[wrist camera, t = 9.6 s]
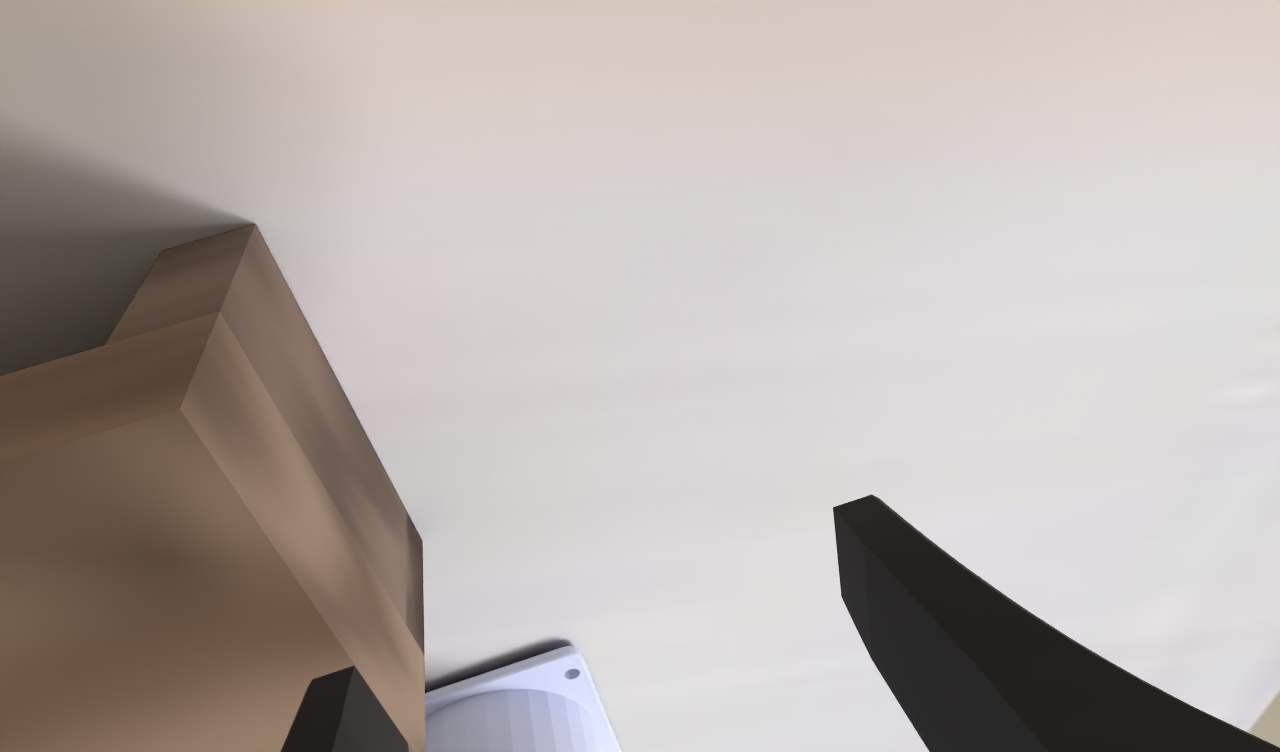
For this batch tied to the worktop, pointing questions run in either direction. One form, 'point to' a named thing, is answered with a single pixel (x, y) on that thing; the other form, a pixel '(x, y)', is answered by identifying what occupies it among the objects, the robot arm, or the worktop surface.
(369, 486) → the cabinet
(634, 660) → the worktop surface
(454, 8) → the worktop surface
